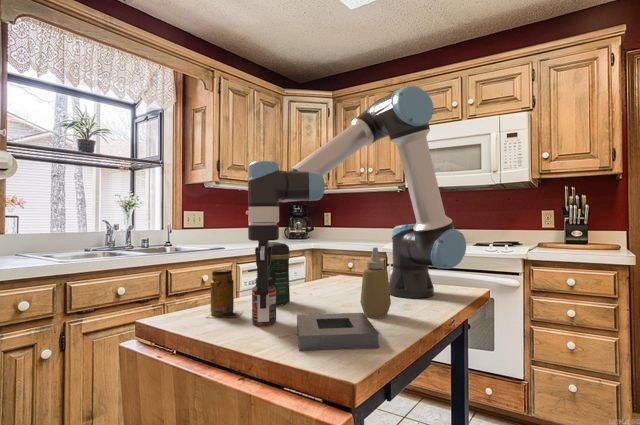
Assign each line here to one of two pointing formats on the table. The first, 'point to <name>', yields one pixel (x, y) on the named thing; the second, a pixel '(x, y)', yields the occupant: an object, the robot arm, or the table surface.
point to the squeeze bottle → (375, 288)
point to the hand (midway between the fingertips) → (264, 317)
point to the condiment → (222, 295)
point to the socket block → (336, 332)
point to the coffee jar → (280, 271)
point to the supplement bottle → (271, 305)
